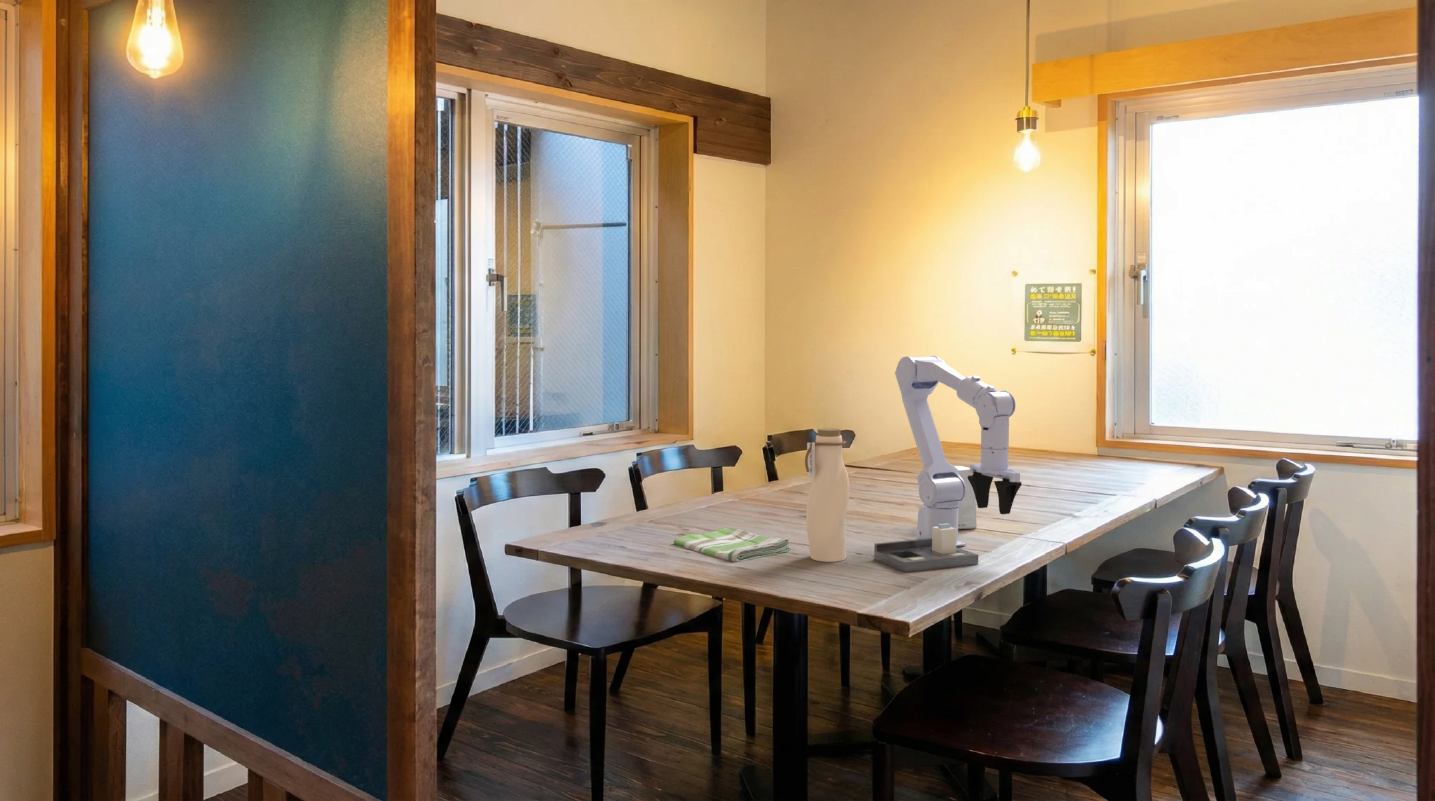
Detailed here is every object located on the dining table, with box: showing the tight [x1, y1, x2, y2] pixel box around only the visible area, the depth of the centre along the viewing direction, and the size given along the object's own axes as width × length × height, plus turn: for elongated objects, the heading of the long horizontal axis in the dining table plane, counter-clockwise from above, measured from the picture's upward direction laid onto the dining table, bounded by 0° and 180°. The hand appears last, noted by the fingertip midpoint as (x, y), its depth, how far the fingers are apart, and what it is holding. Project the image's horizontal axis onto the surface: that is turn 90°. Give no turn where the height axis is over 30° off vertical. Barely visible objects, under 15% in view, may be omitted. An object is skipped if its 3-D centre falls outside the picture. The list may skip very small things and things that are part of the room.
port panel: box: [873, 538, 979, 573], centre depth 212 cm, size 12×18×4 cm, turn 112°
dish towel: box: [673, 527, 793, 563], centre depth 226 cm, size 17×23×4 cm
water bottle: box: [804, 427, 850, 563], centre depth 215 cm, size 10×9×28 cm
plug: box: [932, 523, 957, 554], centre depth 214 cm, size 4×4×8 cm
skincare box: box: [953, 465, 977, 530], centre depth 249 cm, size 8×6×15 cm
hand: (993, 510), depth 214 cm, fingers open, 7 cm apart
